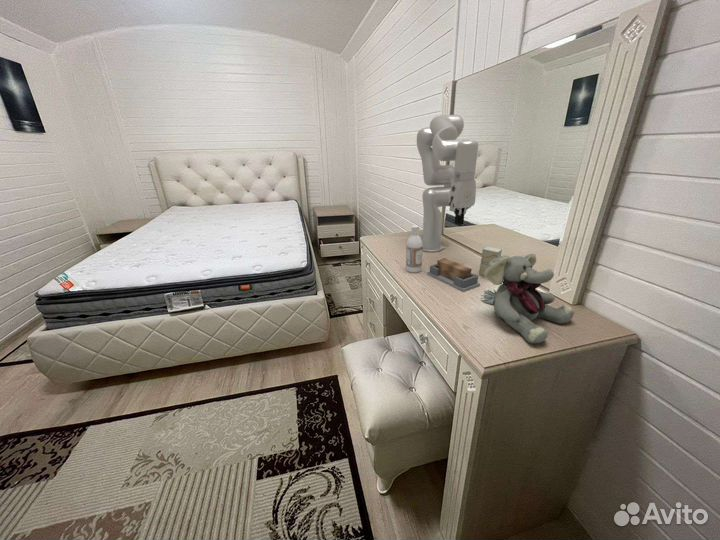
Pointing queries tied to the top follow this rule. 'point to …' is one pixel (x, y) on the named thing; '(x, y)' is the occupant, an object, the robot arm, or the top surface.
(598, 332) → the top surface
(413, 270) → the bath foam
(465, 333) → the top surface
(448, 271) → the slat
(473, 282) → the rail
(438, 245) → the robot arm
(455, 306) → the top surface
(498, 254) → the skincare box
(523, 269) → the plush elephant
